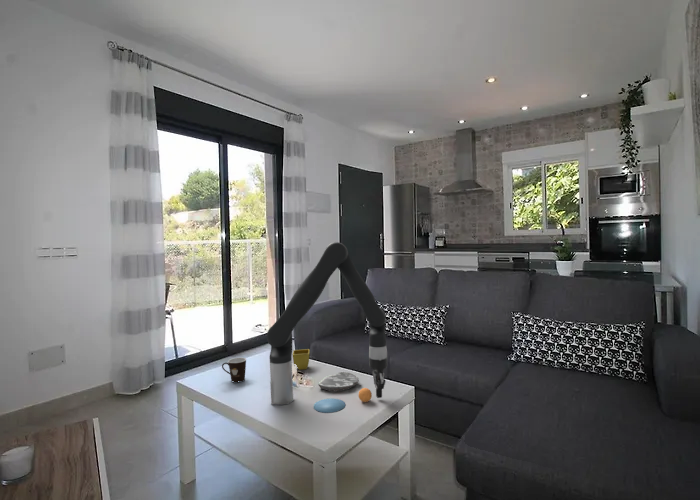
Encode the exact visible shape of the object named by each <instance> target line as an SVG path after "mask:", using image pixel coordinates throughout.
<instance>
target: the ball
mask: <svg viewBox="0 0 700 500" xmlns="http://www.w3.org/2000/svg"><path fill="white" fill-rule="evenodd" d="M372 395H373V394H372V390H371V389H369V388H367V387H363V388H361V389H360V390H359V391H358V398H359V400H360V401H361V402H362V403H368V402H369V401H370V400H371V399H372Z"/></svg>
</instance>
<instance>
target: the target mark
mask: <svg viewBox="0 0 700 500" xmlns="http://www.w3.org/2000/svg"><path fill="white" fill-rule="evenodd" d="M345 407H346V402H345V401H344V400H342V399H341V398H340V399H339V398H331V397H330V398H324V399H320V400H318V401H316V402H315V403H314V404H313V409H314V411H316V412H319V413H325V414H326V413H327V414H329V413H331V414H332V413H336V412H340V411H341V410H343V409H344V408H345Z"/></svg>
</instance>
